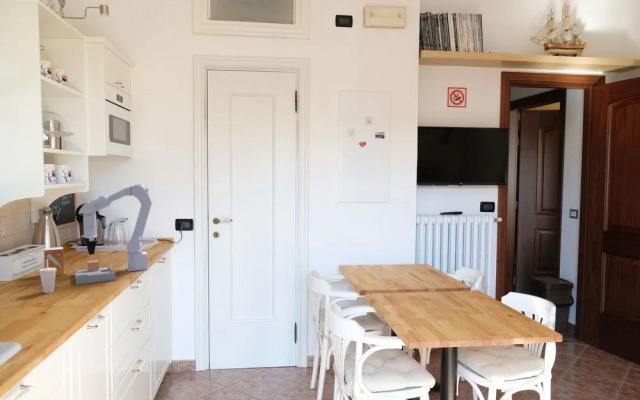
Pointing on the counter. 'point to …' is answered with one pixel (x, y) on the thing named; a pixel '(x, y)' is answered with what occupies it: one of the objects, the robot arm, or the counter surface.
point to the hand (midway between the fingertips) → (91, 253)
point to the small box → (54, 259)
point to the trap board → (94, 275)
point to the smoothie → (48, 278)
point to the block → (93, 266)
